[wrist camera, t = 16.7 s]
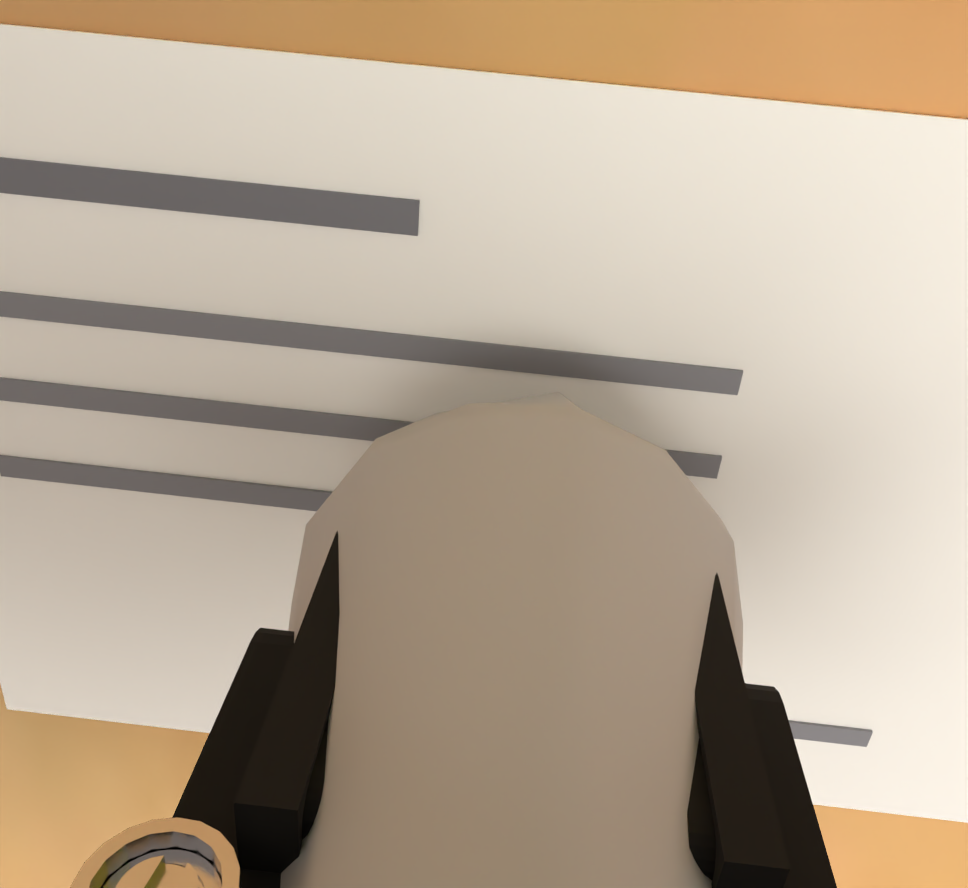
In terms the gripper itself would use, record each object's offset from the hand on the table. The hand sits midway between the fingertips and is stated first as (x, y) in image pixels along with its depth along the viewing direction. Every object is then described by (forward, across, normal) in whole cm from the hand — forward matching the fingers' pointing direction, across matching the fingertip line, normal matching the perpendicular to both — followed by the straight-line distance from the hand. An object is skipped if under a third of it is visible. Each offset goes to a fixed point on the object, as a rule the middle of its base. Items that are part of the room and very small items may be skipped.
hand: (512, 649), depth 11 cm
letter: (+4, 0, 0) cm, 4 cm away
